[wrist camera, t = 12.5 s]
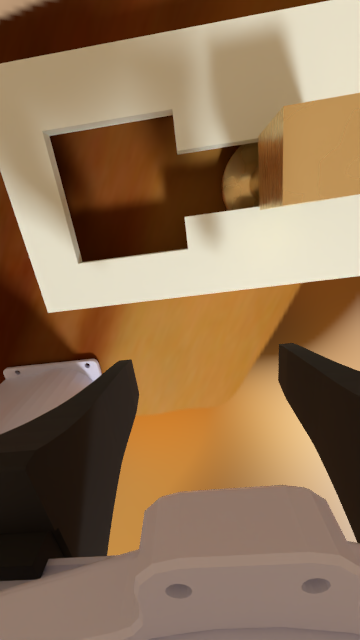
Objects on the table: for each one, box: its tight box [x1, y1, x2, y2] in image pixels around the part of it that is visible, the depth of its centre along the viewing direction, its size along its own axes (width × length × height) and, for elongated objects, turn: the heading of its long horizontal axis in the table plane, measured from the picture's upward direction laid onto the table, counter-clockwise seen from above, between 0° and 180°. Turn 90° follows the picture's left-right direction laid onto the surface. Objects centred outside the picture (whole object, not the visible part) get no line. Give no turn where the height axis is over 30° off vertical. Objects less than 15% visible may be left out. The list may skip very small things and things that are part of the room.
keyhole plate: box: [0, 0, 360, 313], centre depth 17 cm, size 24×14×4 cm, turn 97°
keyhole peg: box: [222, 93, 360, 211], centre depth 14 cm, size 6×6×9 cm
